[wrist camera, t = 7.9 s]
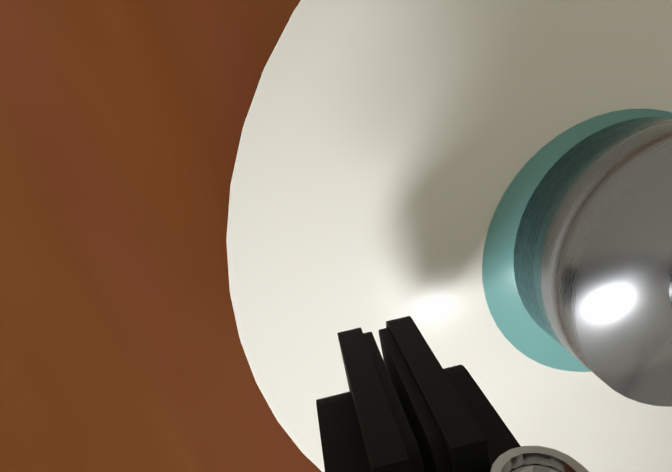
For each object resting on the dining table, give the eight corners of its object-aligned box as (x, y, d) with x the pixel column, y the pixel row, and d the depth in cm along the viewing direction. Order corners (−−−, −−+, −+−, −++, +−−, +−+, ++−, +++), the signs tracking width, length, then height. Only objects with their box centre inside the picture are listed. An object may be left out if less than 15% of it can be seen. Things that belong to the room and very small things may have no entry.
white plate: (887, -208, 14) (1054, -290, 11) (795, 401, 21) (882, 452, 18) (140, -81, 12) (99, -136, 9) (312, 533, 19) (319, 613, 16)
